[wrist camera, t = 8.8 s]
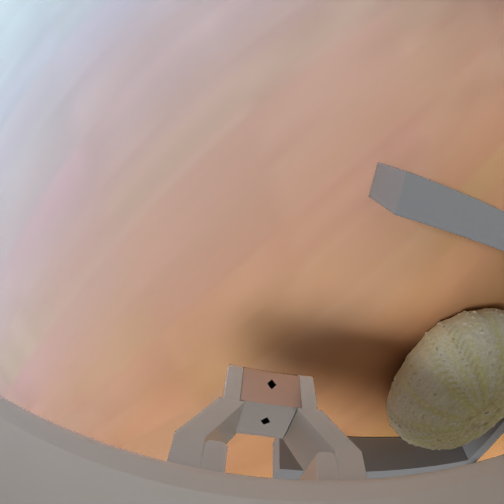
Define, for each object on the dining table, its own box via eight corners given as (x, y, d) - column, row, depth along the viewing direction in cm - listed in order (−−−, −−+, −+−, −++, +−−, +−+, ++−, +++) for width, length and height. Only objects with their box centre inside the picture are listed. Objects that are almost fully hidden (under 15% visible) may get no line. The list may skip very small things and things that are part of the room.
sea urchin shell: (343, 429, 15) (463, 450, 8) (384, 302, 19) (493, 264, 11) (436, 452, 17) (531, 460, 9) (463, 351, 20) (552, 332, 13)
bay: (273, 443, 19) (272, 479, 16) (378, 162, 12) (407, 171, 9) (458, 443, 19) (469, 468, 16) (573, 249, 13) (600, 266, 10)
